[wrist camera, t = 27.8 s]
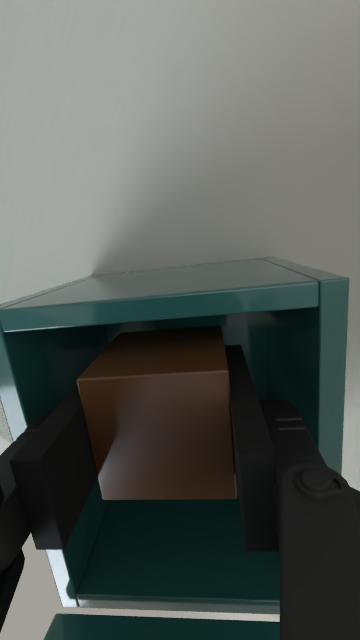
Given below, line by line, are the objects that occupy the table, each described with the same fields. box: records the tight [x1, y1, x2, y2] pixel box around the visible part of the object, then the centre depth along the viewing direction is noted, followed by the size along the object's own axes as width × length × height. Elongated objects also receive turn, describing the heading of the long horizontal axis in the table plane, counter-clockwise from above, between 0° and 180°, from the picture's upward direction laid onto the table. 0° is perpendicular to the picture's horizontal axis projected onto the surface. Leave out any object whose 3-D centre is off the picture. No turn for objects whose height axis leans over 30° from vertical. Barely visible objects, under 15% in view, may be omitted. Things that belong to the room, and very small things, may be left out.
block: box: [77, 325, 238, 500], centre depth 11 cm, size 4×4×4 cm
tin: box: [0, 257, 349, 614], centre depth 15 cm, size 14×12×10 cm
